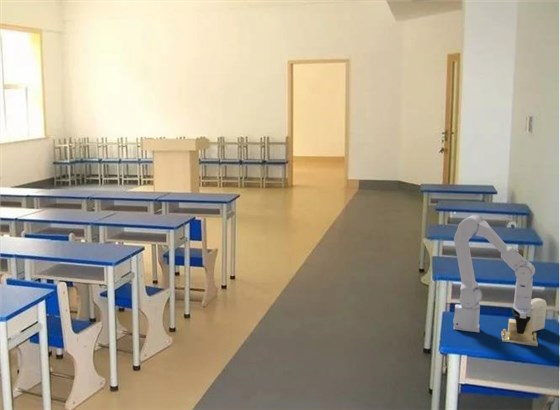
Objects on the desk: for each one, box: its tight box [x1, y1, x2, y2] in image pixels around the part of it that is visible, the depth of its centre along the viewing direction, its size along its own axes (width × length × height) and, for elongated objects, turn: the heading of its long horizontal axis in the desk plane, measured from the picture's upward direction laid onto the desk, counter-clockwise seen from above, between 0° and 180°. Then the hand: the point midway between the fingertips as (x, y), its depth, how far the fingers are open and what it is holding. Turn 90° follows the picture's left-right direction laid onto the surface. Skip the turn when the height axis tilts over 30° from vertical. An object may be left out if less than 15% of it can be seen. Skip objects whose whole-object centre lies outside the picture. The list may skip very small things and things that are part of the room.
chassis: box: [500, 328, 539, 347], centre depth 218 cm, size 12×9×3 cm
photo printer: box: [527, 297, 548, 333], centre depth 228 cm, size 10×4×12 cm, turn 123°
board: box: [507, 318, 533, 341], centre depth 218 cm, size 8×4×6 cm, turn 71°
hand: (519, 330), depth 218 cm, fingers open, 5 cm apart
